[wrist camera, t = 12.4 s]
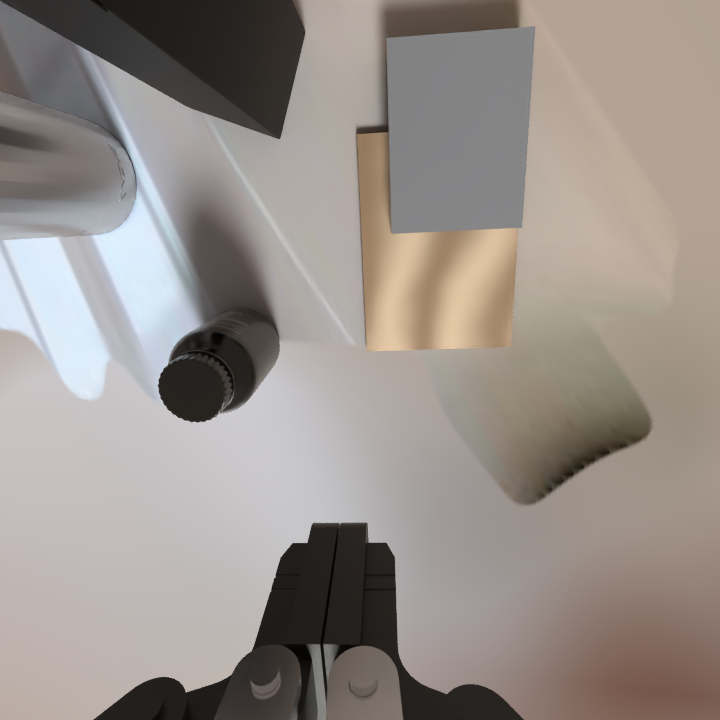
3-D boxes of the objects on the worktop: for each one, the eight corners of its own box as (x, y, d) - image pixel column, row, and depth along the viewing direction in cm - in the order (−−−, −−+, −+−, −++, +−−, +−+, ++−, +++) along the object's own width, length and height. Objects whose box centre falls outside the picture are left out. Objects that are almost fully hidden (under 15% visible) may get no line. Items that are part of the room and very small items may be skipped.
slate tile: (391, 233, 34) (386, 37, 30) (390, 232, 36) (386, 52, 32) (521, 227, 33) (535, 26, 29) (511, 226, 36) (522, 42, 32)
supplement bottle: (195, 339, 41) (122, 386, 30) (243, 292, 39) (186, 322, 28) (247, 390, 42) (196, 453, 31) (296, 346, 41) (262, 396, 29)
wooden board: (367, 349, 40) (366, 351, 40) (357, 135, 35) (356, 134, 34) (508, 344, 40) (510, 346, 39) (522, 125, 34) (524, 123, 33)
